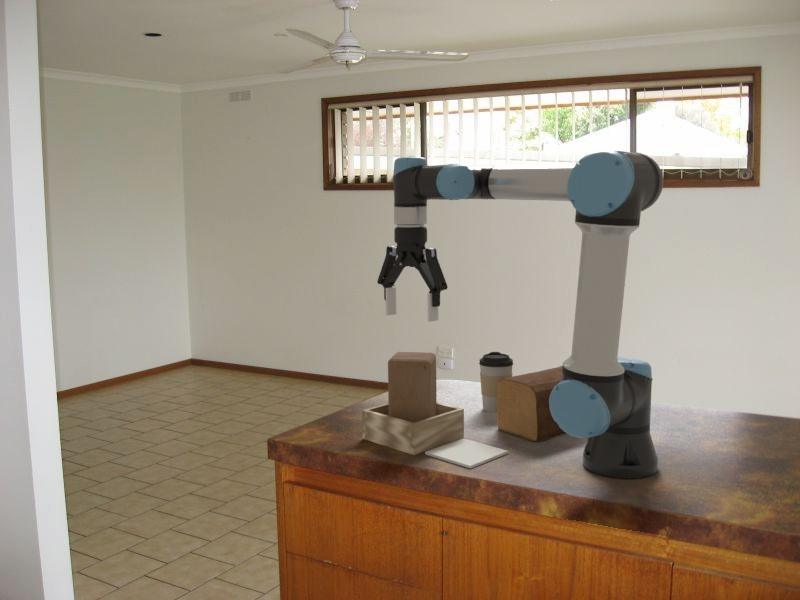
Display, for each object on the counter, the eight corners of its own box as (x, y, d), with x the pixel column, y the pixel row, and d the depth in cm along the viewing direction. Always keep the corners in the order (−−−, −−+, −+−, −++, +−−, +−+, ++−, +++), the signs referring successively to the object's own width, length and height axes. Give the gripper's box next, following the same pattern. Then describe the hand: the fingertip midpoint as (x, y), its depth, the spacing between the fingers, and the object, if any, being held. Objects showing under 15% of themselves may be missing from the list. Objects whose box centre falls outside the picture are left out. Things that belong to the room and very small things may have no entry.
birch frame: (463, 437, 180) (463, 408, 179) (414, 455, 168) (413, 424, 167) (412, 423, 192) (412, 396, 191) (362, 438, 180) (362, 410, 179)
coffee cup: (515, 413, 199) (515, 357, 197) (480, 413, 199) (480, 358, 197) (510, 404, 208) (510, 350, 206) (477, 404, 208) (477, 351, 206)
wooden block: (430, 446, 174) (430, 360, 172) (388, 443, 176) (386, 359, 174) (437, 432, 184) (436, 352, 181) (396, 430, 186) (395, 350, 183)
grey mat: (508, 453, 168) (508, 450, 168) (470, 468, 159) (470, 465, 159) (463, 440, 178) (463, 438, 177) (425, 454, 168) (425, 451, 168)
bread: (627, 417, 195) (628, 363, 194) (537, 444, 175) (537, 384, 173) (583, 405, 206) (584, 354, 205) (494, 430, 186) (494, 373, 184)
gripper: (462, 226, 167) (463, 321, 170) (384, 224, 185) (386, 310, 188) (440, 227, 162) (440, 325, 165) (361, 225, 180) (363, 314, 182)
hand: (411, 317), depth 176 cm, fingers open, 13 cm apart
